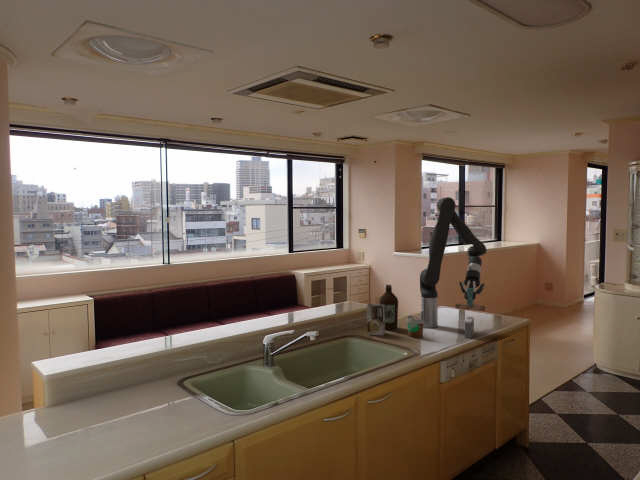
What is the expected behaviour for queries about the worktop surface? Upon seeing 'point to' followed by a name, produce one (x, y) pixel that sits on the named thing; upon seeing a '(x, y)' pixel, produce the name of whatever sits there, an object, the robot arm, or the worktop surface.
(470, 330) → the block
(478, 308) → the beam
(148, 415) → the worktop surface
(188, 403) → the worktop surface
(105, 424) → the worktop surface
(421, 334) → the food container
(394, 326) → the olive oil
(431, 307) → the robot arm
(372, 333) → the coffee box
